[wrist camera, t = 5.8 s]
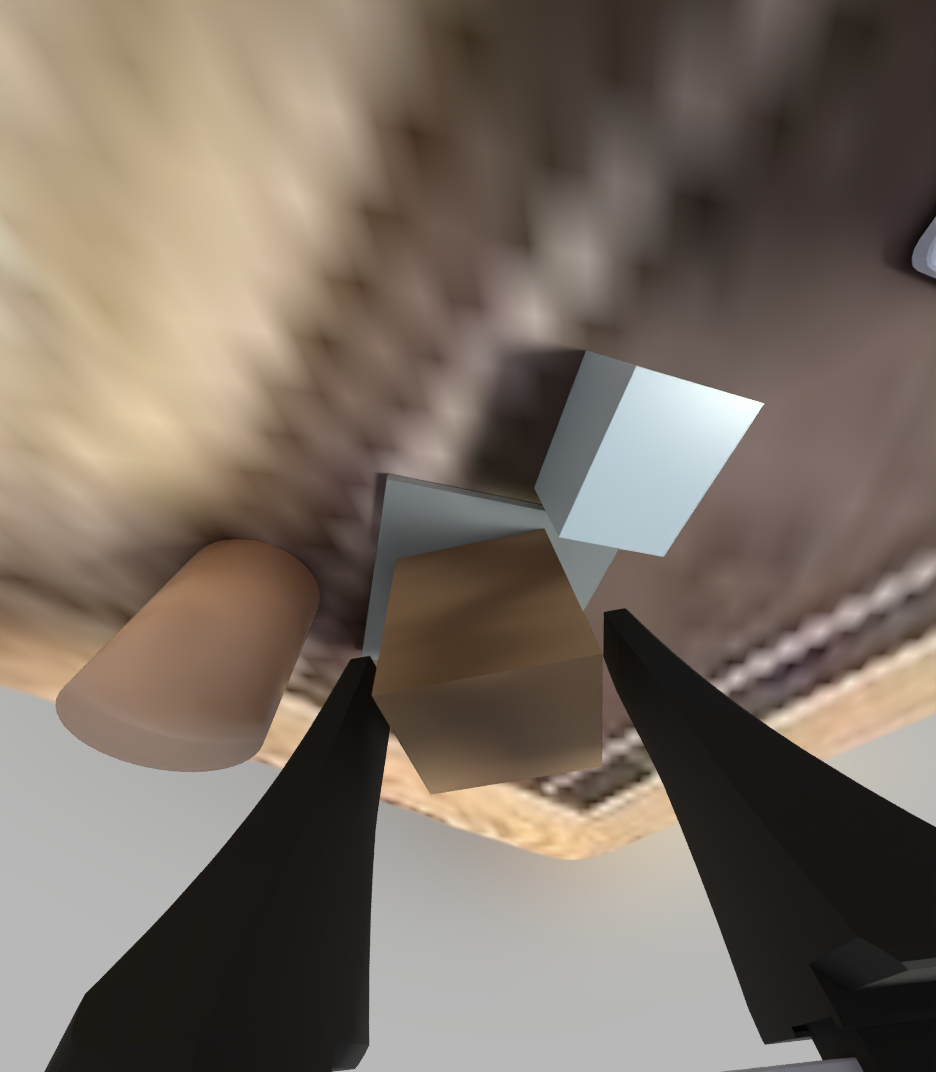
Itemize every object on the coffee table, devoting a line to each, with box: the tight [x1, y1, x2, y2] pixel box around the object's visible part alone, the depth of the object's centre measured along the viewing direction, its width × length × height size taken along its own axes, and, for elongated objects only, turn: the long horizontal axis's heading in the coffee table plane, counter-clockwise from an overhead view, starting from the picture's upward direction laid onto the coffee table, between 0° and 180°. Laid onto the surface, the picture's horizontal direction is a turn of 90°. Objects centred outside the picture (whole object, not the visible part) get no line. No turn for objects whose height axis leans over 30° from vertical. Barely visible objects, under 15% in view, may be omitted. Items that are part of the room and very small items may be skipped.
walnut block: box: [372, 529, 602, 794], centre depth 11 cm, size 5×5×5 cm
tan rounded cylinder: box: [56, 539, 320, 772], centre depth 11 cm, size 4×4×5 cm
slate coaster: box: [362, 474, 619, 660], centre depth 13 cm, size 8×8×1 cm
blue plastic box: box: [534, 351, 764, 557], centre depth 9 cm, size 3×4×3 cm
